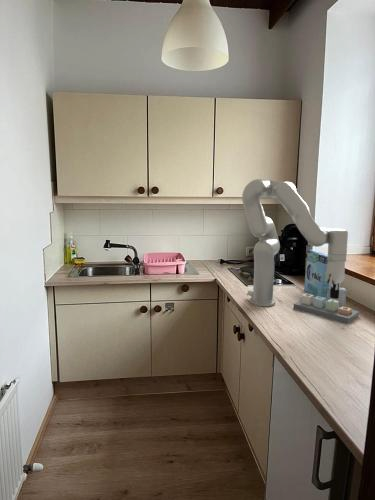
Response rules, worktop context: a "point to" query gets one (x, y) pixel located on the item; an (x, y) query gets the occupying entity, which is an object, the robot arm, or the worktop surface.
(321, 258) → the gum box
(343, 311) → the peach cube
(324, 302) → the key
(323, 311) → the keypad board
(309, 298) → the key
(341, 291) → the medicine box
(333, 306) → the key
